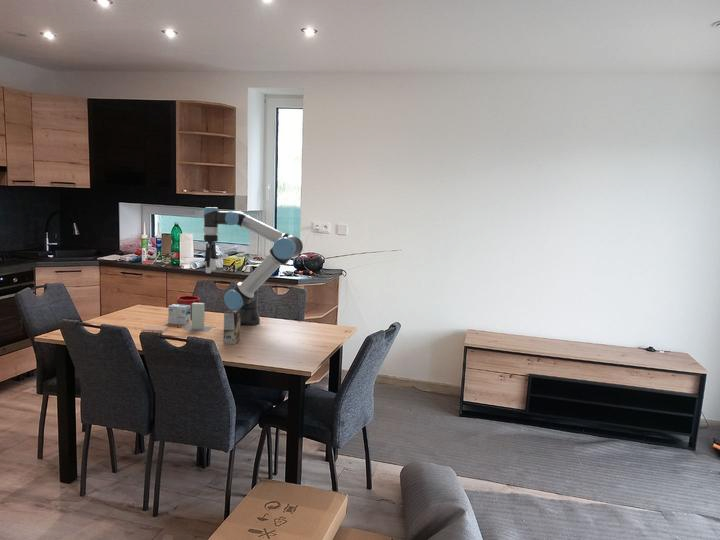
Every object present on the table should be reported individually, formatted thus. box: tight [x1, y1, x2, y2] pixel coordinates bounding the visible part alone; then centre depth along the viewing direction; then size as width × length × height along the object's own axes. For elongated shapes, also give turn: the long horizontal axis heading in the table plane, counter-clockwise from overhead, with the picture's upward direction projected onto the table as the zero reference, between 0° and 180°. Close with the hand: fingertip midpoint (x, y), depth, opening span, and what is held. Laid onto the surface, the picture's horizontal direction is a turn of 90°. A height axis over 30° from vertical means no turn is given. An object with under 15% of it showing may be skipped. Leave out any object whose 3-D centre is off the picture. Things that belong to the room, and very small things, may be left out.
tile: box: [141, 325, 169, 333], centre depth 294 cm, size 2×9×11 cm
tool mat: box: [182, 324, 214, 333], centre depth 303 cm, size 14×12×1 cm
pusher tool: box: [191, 302, 206, 329], centre depth 302 cm, size 6×4×14 cm, turn 89°
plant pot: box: [176, 295, 201, 319], centre depth 332 cm, size 13×13×12 cm
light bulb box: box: [167, 303, 191, 326], centre depth 313 cm, size 11×7×11 cm, turn 84°
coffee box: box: [222, 309, 241, 345], centre depth 280 cm, size 9×6×16 cm
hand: (210, 271), depth 314 cm, fingers open, 13 cm apart
